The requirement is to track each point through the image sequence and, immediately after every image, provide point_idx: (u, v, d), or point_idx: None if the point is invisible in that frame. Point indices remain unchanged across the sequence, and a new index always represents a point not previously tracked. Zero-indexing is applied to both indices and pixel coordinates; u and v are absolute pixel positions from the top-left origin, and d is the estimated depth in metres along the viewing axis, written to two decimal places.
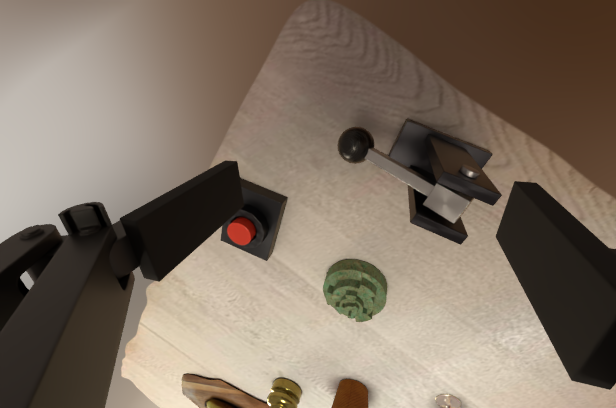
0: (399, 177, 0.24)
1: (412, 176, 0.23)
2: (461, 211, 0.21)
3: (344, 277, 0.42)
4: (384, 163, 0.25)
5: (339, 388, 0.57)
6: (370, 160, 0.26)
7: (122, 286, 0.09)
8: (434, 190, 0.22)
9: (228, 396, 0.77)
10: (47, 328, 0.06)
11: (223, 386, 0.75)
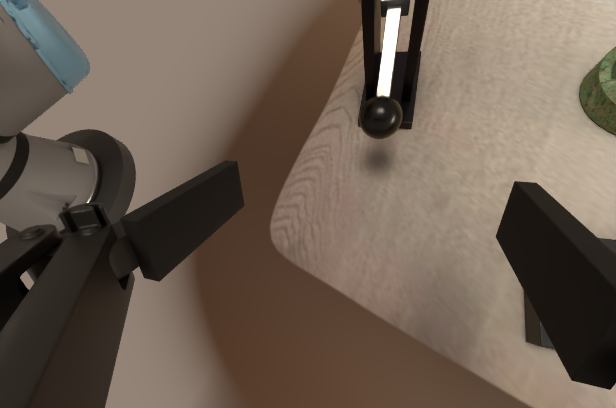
0: (393, 45, 0.22)
1: (386, 33, 0.22)
2: None
3: None
4: (385, 70, 0.22)
5: None
6: (388, 86, 0.22)
7: (122, 286, 0.09)
8: None
9: None
10: (47, 328, 0.06)
11: None
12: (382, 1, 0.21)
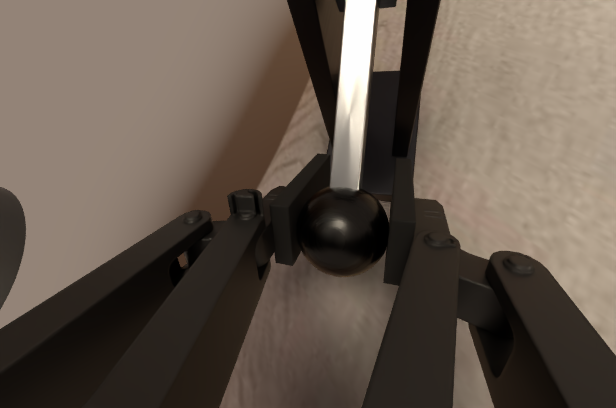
0: (363, 77, 0.09)
1: (347, 48, 0.09)
2: None
3: None
4: (347, 131, 0.10)
5: None
6: (355, 169, 0.10)
7: (259, 274, 0.10)
8: None
9: None
10: (194, 314, 0.06)
11: None
12: None
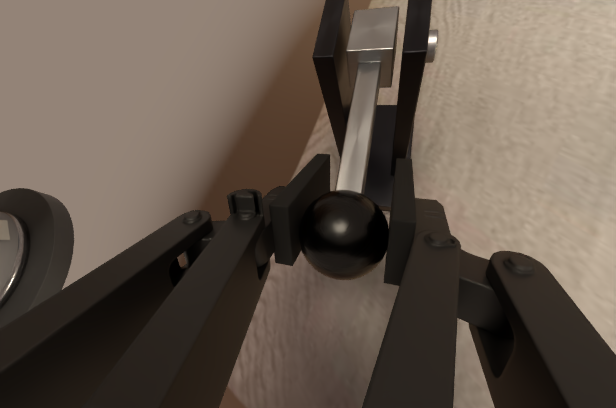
0: (368, 113, 0.12)
1: (356, 96, 0.13)
2: (373, 9, 0.13)
3: None
4: (353, 148, 0.12)
5: None
6: (359, 176, 0.11)
7: (259, 274, 0.10)
8: (359, 47, 0.13)
9: None
10: (194, 314, 0.06)
11: None
12: (349, 52, 0.13)
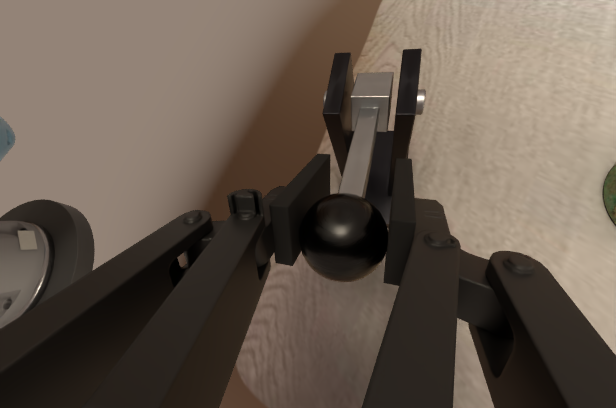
0: (369, 141, 0.14)
1: (358, 129, 0.15)
2: (373, 73, 0.17)
3: None
4: (355, 165, 0.13)
5: None
6: (360, 186, 0.12)
7: (259, 274, 0.10)
8: (361, 94, 0.15)
9: None
10: (194, 314, 0.06)
11: None
12: (353, 98, 0.15)
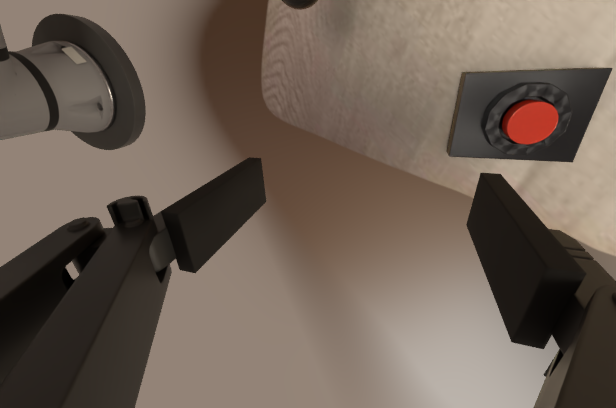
0: None
1: None
2: None
3: None
4: None
5: None
6: None
7: (159, 278, 0.10)
8: None
9: None
10: (89, 319, 0.06)
11: None
12: None
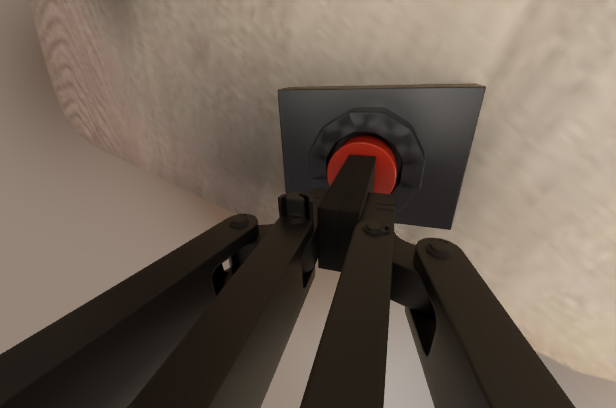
0: None
1: None
2: None
3: None
4: None
5: None
6: None
7: (303, 282, 0.09)
8: None
9: None
10: (238, 324, 0.05)
11: None
12: None
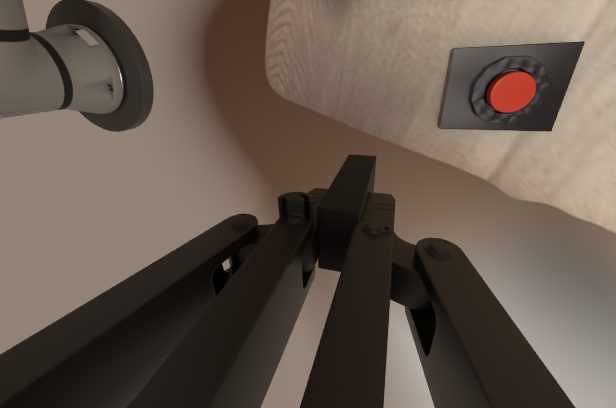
0: None
1: None
2: None
3: None
4: None
5: None
6: None
7: (303, 282, 0.09)
8: None
9: None
10: (238, 324, 0.05)
11: None
12: None
